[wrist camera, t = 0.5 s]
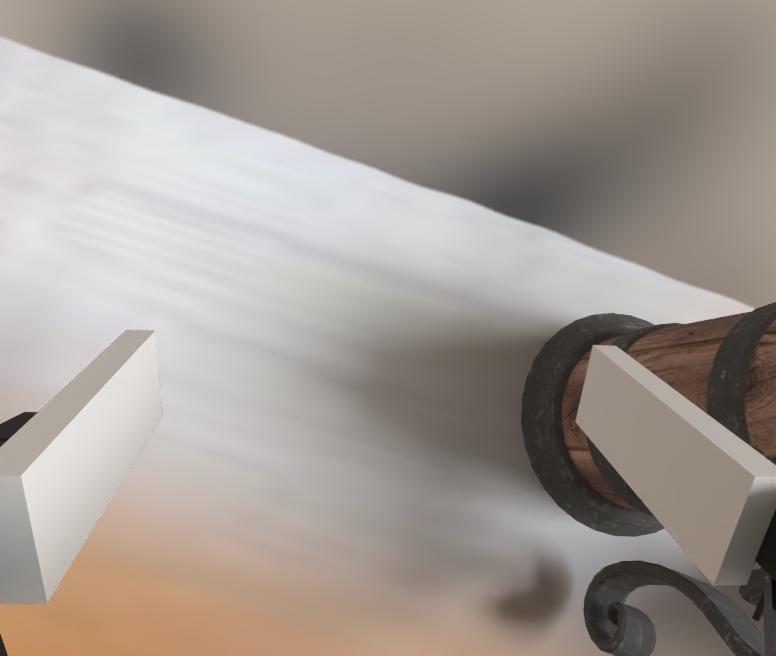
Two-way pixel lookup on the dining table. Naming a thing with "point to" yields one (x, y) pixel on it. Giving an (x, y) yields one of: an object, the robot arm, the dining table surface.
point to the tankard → (605, 485)
